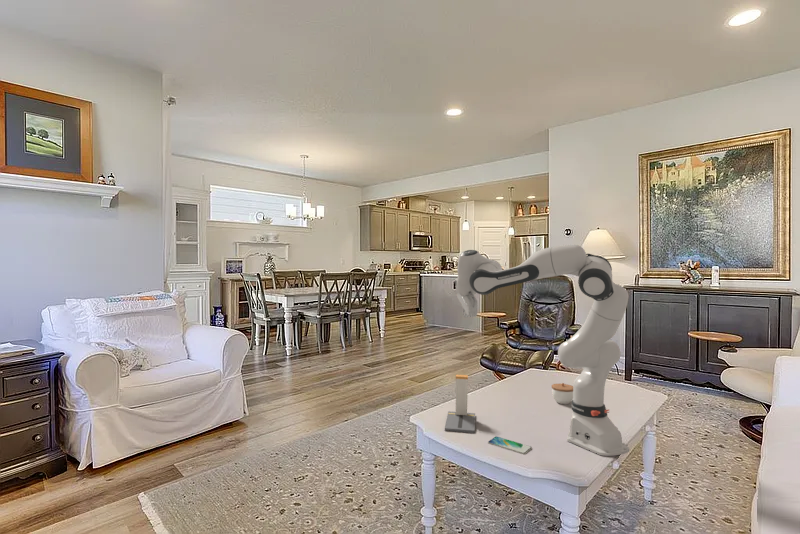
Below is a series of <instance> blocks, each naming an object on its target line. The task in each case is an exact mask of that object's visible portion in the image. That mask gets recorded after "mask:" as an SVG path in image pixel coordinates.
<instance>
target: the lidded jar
mask: <svg viewBox="0 0 800 534" xmlns="http://www.w3.org/2000/svg"><path fill="white" fill-rule="evenodd" d="M551 394H552V397H553V399H554V400H555V402H556V403H558V404H560V405H561V404H562V405H569V404H570V403H572V400H573V385H570V384H567V383H565V382H561V383H553V384H551Z"/></svg>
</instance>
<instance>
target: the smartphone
mask: <svg viewBox="0 0 800 534" xmlns="http://www.w3.org/2000/svg"><path fill="white" fill-rule="evenodd" d="M487 444H489V445H492V446H494V447H498V448H501V449H505V450H507V451H511V452H515V453H518V454H521V455H526V454H527V453H528V452H530V451H531V450H532V449H533V447H532V446H531V445H527V444H524V443H520V442H517V441H514V440H510V439H507V438H503V437H500V436H496V435H495V436H494V437H493V438H491V439H490V440H488V441H487Z"/></svg>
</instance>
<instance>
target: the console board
mask: <svg viewBox="0 0 800 534" xmlns="http://www.w3.org/2000/svg"><path fill="white" fill-rule="evenodd" d="M475 426H476V413H475V412H467V416H466V415H456V411H450V410H449V411H447V416H446V420H445V426H444V431H445V430H450V431H449V432H455V431H458V432H459V433H467V432H468V433H470V434H475V433H476V431H475V429H476V427H475ZM458 432H457V433H458Z"/></svg>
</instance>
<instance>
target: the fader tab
mask: <svg viewBox="0 0 800 534" xmlns="http://www.w3.org/2000/svg"><path fill="white" fill-rule="evenodd" d="M468 379H469V375H468V374H456V375H455V412H456V415H466V416H467V413H468V390H469V389H468V385H469V384H468V381H469V380H468Z"/></svg>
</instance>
